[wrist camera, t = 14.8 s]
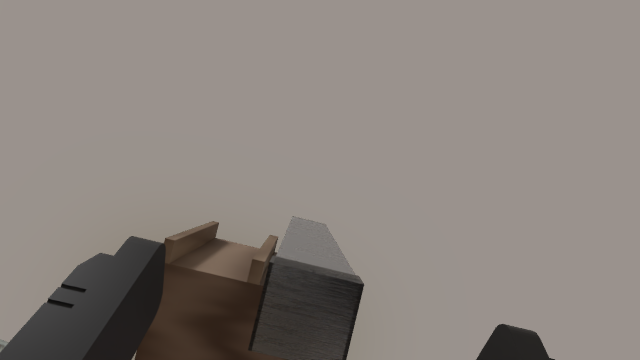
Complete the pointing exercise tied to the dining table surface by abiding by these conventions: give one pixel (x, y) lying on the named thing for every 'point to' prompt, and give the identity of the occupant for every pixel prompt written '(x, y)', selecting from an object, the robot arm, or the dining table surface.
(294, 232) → the steel bar
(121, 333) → the robot arm
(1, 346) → the sauce bottle
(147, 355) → the stand
